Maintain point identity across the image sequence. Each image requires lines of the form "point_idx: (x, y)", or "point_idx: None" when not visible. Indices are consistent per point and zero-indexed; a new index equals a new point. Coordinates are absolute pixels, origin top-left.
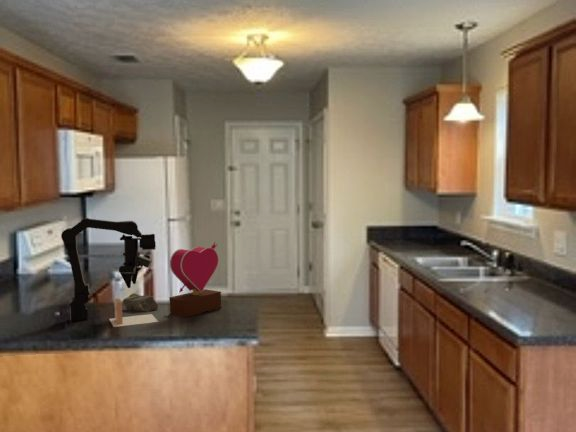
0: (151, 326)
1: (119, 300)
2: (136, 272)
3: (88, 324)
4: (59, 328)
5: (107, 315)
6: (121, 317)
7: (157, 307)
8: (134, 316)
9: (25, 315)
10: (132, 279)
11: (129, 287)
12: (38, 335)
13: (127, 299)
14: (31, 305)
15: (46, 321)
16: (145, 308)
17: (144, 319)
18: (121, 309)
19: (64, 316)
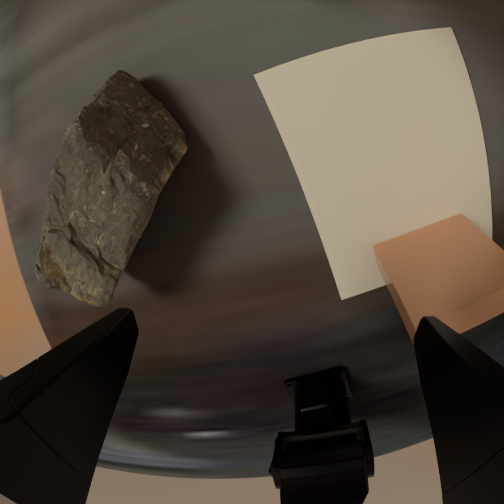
0: (500, 69)
1: (480, 304)
2: (28, 428)
3: (393, 347)
4: (408, 396)
5: (240, 321)
6: (477, 231)
7: (127, 73)
8: (313, 175)
9: (231, 465)
10: (116, 382)
11: (434, 325)
12: None
13: (114, 286)
14: (137, 457)
15: None
16: (173, 137)
17: (400, 101)
18: (501, 252)
19: (247, 423)
